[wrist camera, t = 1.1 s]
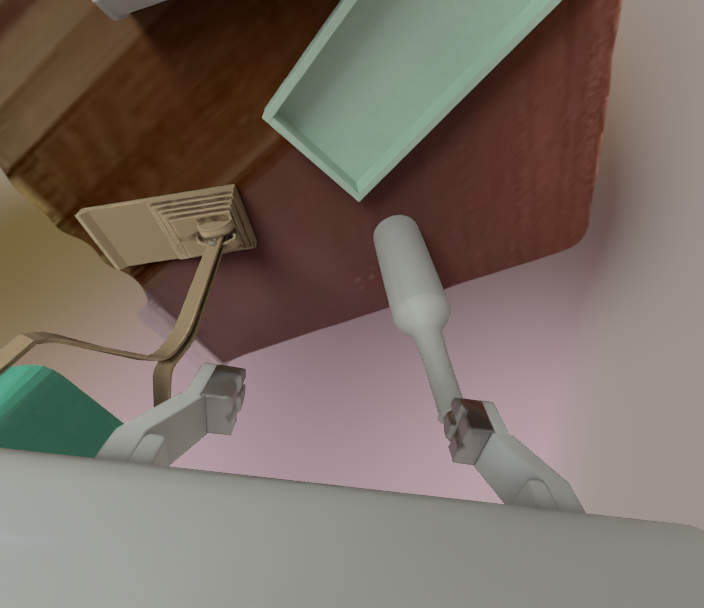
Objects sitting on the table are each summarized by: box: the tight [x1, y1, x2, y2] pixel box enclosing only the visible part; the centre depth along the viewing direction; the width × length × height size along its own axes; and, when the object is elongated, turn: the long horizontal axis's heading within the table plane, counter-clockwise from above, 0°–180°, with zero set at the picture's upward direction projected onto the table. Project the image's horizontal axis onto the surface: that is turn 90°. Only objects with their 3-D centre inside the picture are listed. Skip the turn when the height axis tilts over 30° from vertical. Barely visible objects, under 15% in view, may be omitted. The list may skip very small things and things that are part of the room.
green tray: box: [262, 0, 562, 202], centre depth 32 cm, size 14×30×4 cm, turn 136°
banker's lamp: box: [0, 184, 257, 458], centre depth 32 cm, size 16×21×35 cm
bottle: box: [373, 215, 463, 424], centre depth 39 cm, size 7×7×28 cm
